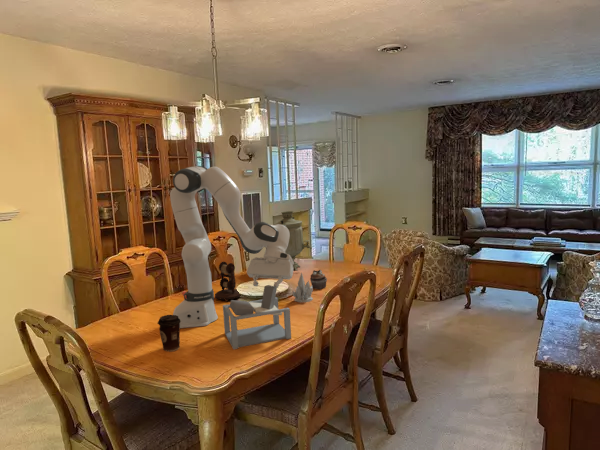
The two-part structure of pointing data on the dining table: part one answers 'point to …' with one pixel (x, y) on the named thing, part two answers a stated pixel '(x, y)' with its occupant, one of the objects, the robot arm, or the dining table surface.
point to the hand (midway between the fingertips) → (265, 286)
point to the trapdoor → (249, 308)
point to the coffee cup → (170, 332)
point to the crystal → (303, 291)
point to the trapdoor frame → (256, 333)
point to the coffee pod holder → (227, 282)
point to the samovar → (293, 236)
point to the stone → (268, 297)
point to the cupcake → (318, 280)
